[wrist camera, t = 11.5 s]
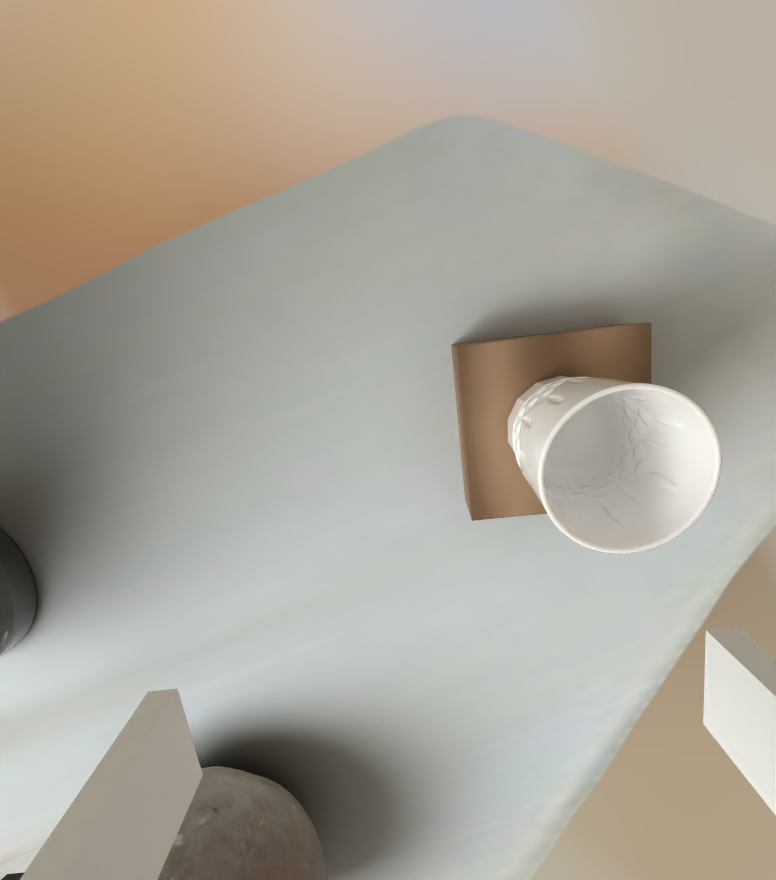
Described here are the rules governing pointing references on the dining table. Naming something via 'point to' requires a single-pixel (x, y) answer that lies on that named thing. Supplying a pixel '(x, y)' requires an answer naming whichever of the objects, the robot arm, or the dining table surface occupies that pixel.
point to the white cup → (615, 459)
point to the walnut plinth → (506, 378)
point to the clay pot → (244, 833)
